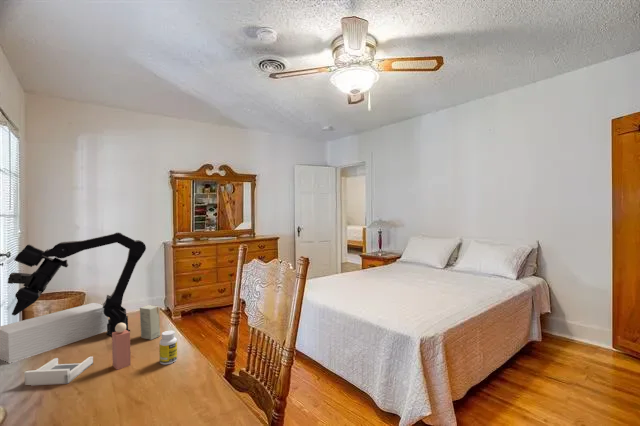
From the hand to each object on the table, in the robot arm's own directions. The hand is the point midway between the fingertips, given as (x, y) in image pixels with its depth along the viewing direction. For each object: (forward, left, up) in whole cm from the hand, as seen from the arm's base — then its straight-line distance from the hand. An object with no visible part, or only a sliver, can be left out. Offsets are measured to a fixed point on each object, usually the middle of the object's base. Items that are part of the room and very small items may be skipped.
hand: (16, 311), depth 117 cm
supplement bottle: (-23, +55, -15) cm, 61 cm away
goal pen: (-1, +33, -15) cm, 36 cm away
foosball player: (-13, +44, -15) cm, 48 cm away
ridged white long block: (-11, +3, -15) cm, 19 cm away
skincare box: (-32, +30, -15) cm, 46 cm away
